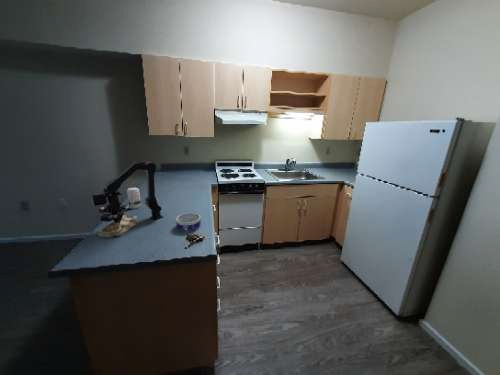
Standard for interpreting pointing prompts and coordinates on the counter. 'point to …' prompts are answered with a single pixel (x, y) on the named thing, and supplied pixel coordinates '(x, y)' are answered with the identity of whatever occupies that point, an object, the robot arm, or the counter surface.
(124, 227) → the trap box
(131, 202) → the supplement can
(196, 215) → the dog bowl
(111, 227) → the walnut block
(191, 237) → the counter surface
